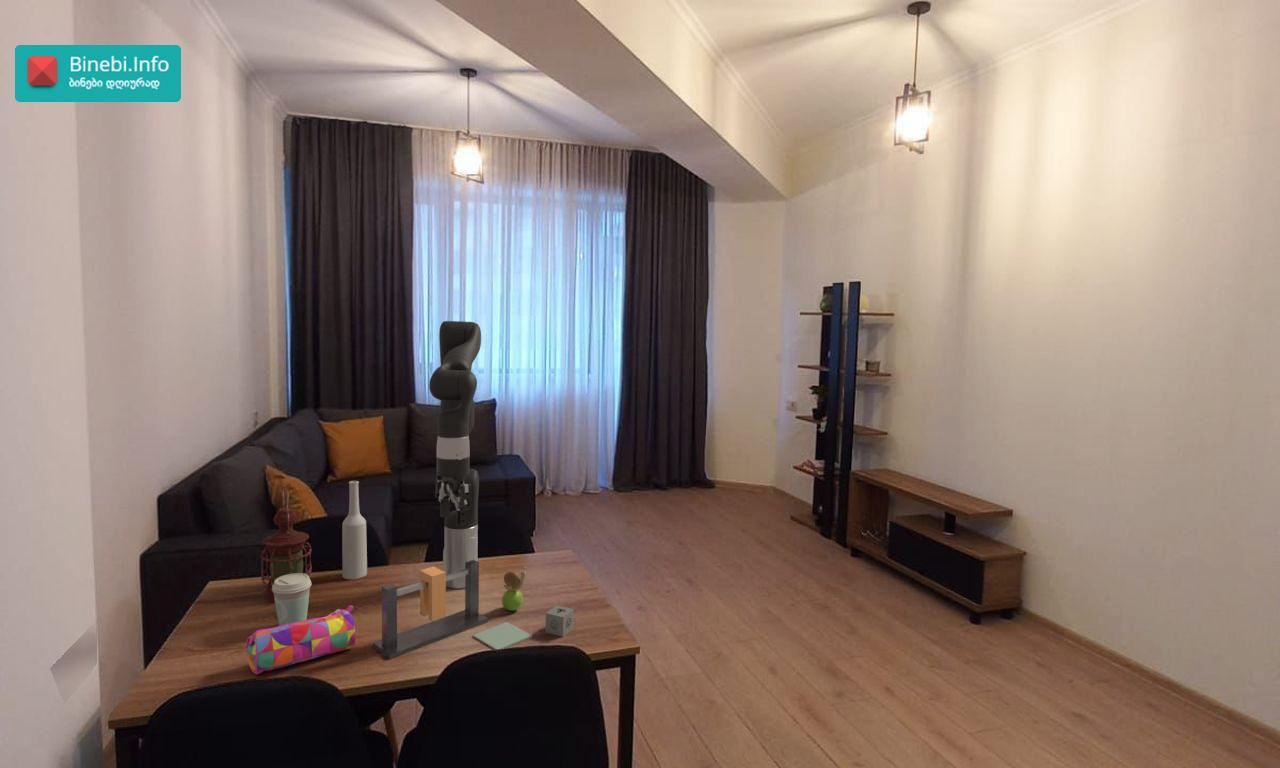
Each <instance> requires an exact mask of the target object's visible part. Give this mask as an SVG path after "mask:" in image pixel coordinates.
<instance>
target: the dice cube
mask: <svg viewBox="0 0 1280 768" xmlns="http://www.w3.org/2000/svg"><path fill="white" fill-rule="evenodd" d="M574 613H575V609H573V608H569V607H565V606H561V605H554V606H553V607H552V608H551V609H549V610H548V611H546V613H545V633H547V634H550V635H555V636H558V637H563V638H564V637H565V636H566V635H567V634H569V633H570V632H571V631H572V630H574V625H575V624H574V621H575V618H574V617H575V615H574Z"/></svg>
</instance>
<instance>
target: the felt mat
mask: <svg viewBox="0 0 1280 768" xmlns="http://www.w3.org/2000/svg"><path fill="white" fill-rule="evenodd" d="M472 638H474V639H476V640H478V641H480V642H481V643H483V644H485V645H486V646H488V647H489V648H491V649H493V650H494V651H496V649H503V650H505V649H507V648H510V647H512V646H514V645H516V644H518V643H519V644H520V643H521V642H523V641H526V640H528V639H531V638H533V635H532V634H531V633H529V632H526V631H525V630H523V629H521V628H519V627H517V626H516V625H513V624H511V623H510V622H509V621H505V622H502V623H500V624H498V625H495V626H493V627H490V628H488V629H485V630H483V631H479V632H477V633H475V634H473V635H472ZM504 648H505V649H504Z"/></svg>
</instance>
